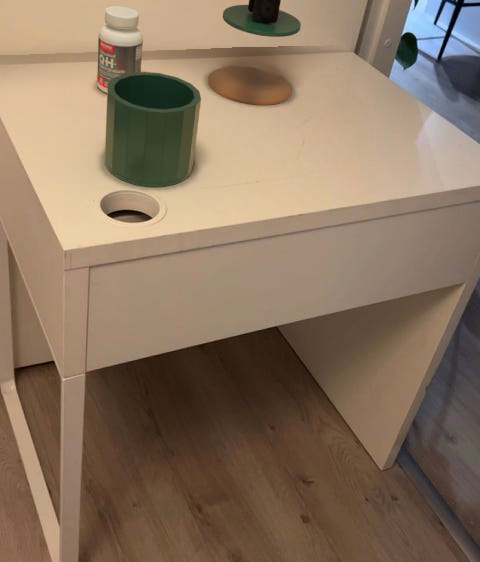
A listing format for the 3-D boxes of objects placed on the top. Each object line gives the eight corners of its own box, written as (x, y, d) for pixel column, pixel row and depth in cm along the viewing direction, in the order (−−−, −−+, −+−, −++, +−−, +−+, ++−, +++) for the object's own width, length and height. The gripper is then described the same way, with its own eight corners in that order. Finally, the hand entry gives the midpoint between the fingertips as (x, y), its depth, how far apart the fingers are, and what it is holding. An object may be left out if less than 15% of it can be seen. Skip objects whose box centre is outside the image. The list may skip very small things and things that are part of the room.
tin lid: (227, 37, 90) (234, -18, 86) (217, 9, 98) (223, -42, 94) (306, 44, 93) (317, -9, 89) (290, 16, 100) (299, -34, 96)
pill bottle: (92, 93, 91) (94, 14, 86) (101, 76, 96) (104, 0, 90) (135, 100, 92) (140, 22, 86) (142, 83, 96) (148, 8, 90)
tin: (105, 184, 75) (108, 108, 70) (104, 141, 82) (107, 68, 77) (195, 189, 77) (205, 114, 72) (187, 146, 84) (195, 75, 79)
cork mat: (213, 101, 95) (213, 98, 94) (203, 65, 104) (203, 63, 103) (299, 107, 97) (300, 105, 97) (282, 72, 106) (283, 69, 106)
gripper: (244, -161, 89) (225, -7, 100) (268, -136, 76) (243, 37, 88) (304, -153, 90) (278, -1, 102) (336, -127, 78) (303, 42, 89)
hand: (262, 15), depth 95 cm, fingers closed on tin lid, 2 cm apart
